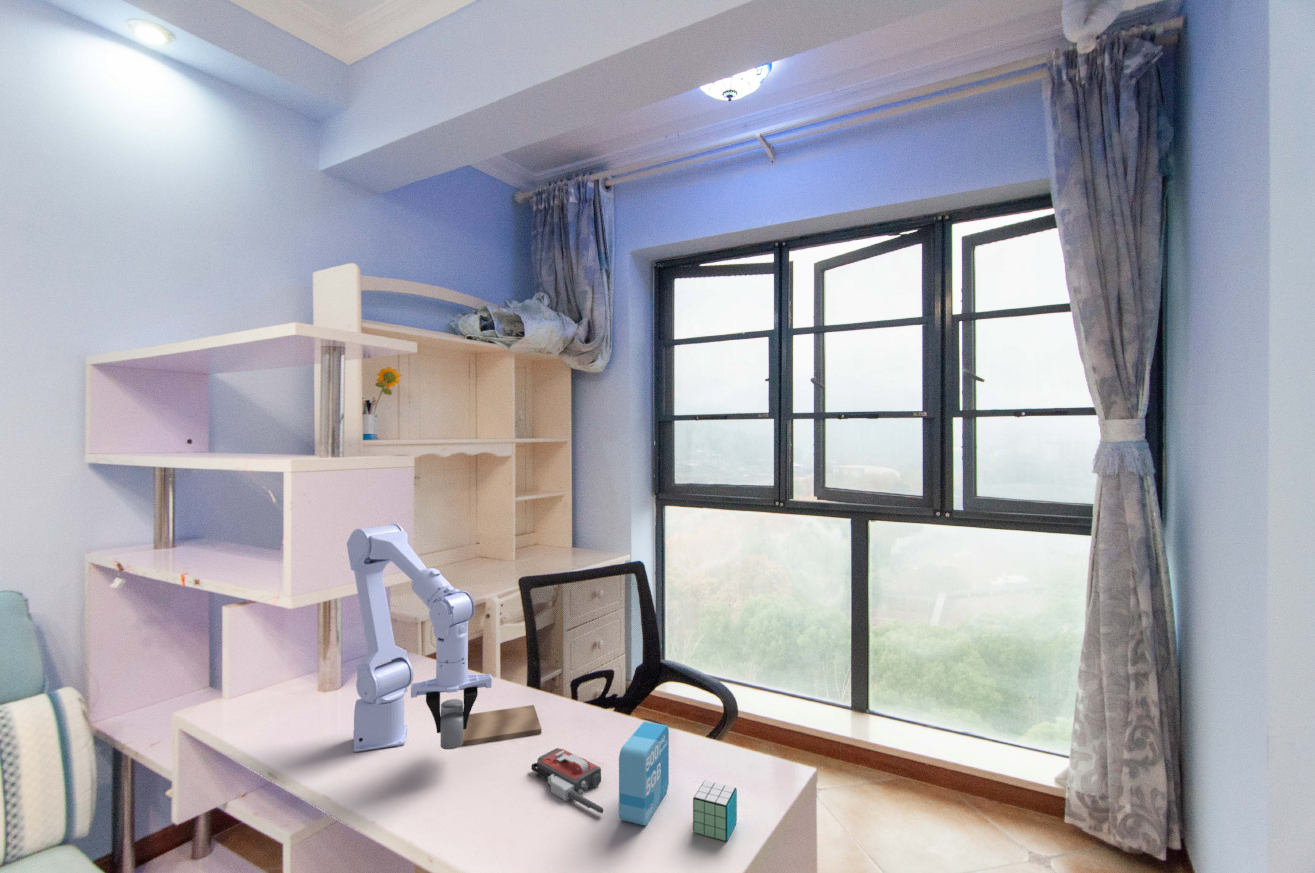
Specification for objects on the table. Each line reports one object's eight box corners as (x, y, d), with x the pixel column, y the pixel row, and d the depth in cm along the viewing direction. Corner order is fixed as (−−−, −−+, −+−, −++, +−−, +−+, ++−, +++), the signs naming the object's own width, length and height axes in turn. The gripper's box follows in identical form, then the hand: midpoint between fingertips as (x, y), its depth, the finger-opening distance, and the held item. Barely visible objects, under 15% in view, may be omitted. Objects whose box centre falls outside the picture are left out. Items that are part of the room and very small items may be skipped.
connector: (440, 750, 110) (440, 723, 110) (441, 719, 122) (441, 694, 122) (463, 747, 111) (463, 720, 111) (461, 716, 123) (462, 692, 123)
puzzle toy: (727, 842, 93) (727, 806, 93) (692, 833, 96) (692, 797, 96) (737, 821, 98) (737, 786, 98) (704, 812, 101) (704, 778, 101)
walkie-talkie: (521, 778, 111) (597, 822, 99) (521, 754, 111) (597, 795, 99) (557, 759, 118) (633, 798, 105) (557, 736, 118) (633, 772, 105)
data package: (644, 830, 96) (644, 755, 96) (618, 823, 98) (618, 749, 98) (669, 789, 107) (669, 722, 107) (645, 784, 109) (645, 717, 109)
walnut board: (462, 745, 122) (462, 740, 122) (460, 719, 134) (460, 715, 134) (541, 733, 128) (541, 728, 128) (533, 709, 139) (533, 704, 139)
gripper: (409, 669, 109) (409, 744, 109) (492, 660, 114) (492, 732, 114) (412, 656, 116) (411, 727, 116) (490, 647, 120) (490, 715, 120)
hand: (451, 728), depth 115 cm, fingers closed on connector, 4 cm apart
